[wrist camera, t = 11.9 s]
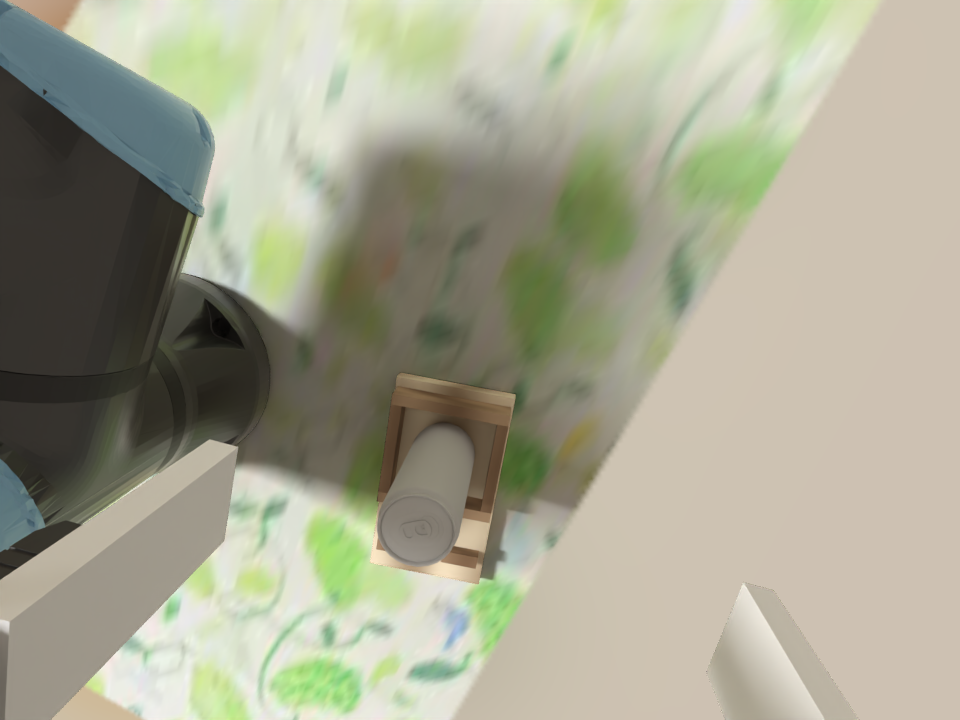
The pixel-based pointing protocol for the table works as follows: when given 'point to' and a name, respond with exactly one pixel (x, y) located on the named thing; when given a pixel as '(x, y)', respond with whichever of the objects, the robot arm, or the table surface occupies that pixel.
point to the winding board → (488, 430)
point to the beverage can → (428, 497)
